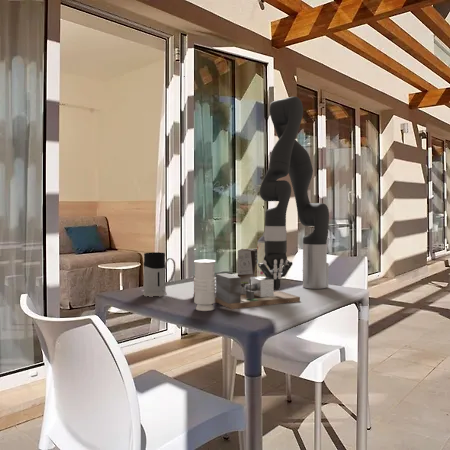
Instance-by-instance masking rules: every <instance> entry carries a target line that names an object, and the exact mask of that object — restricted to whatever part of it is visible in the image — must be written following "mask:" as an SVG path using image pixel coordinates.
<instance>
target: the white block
mask: <svg viewBox="0 0 450 450" xmlns="http://www.w3.org/2000/svg"><path fill="white" fill-rule="evenodd" d="M250 279H251V291H254V295H256V296H259V297H267V296H274V292H275V290H274V279H271V278H268V277H264V276H260V277H250ZM244 289H245V291H246V290H250V284H245V286H244Z"/></svg>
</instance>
